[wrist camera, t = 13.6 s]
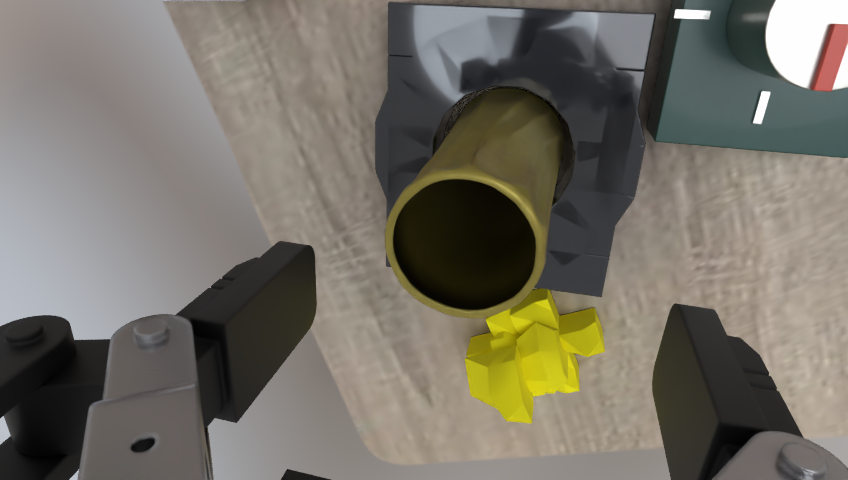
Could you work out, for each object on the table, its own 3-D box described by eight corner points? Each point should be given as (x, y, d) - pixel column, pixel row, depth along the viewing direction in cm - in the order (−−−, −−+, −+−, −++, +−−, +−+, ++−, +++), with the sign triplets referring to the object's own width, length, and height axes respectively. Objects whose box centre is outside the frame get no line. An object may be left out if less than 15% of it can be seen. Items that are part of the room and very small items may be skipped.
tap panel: (690, -126, 24) (706, -143, 21) (919, -127, 22) (971, -146, 19) (640, 128, 28) (648, 142, 25) (827, 143, 26) (858, 160, 24)
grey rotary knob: (742, -44, 22) (790, -56, 17) (867, -42, 21) (953, -54, 16) (714, 70, 24) (751, 88, 19) (828, 77, 23) (896, 97, 18)
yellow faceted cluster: (612, 358, 34) (624, 450, 27) (491, 383, 37) (474, 472, 30) (583, 276, 32) (587, 352, 25) (459, 309, 35) (432, 385, 28)
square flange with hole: (392, 1, 29) (374, 1, 26) (662, 12, 26) (672, 13, 23) (390, 244, 34) (375, 265, 32) (610, 274, 32) (614, 299, 29)
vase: (557, 201, 31) (549, 343, 18) (450, 191, 32) (372, 318, 19) (570, 90, 28) (572, 163, 15) (454, 84, 29) (367, 147, 17)
